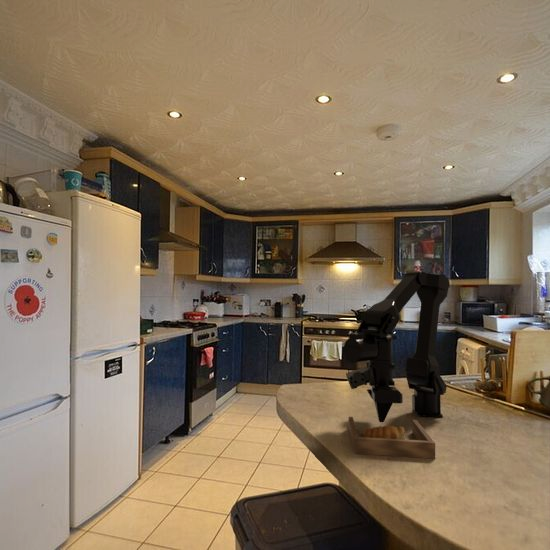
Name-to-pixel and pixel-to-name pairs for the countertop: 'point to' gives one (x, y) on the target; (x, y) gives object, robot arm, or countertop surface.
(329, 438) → the countertop surface
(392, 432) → the pastry
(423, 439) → the box
